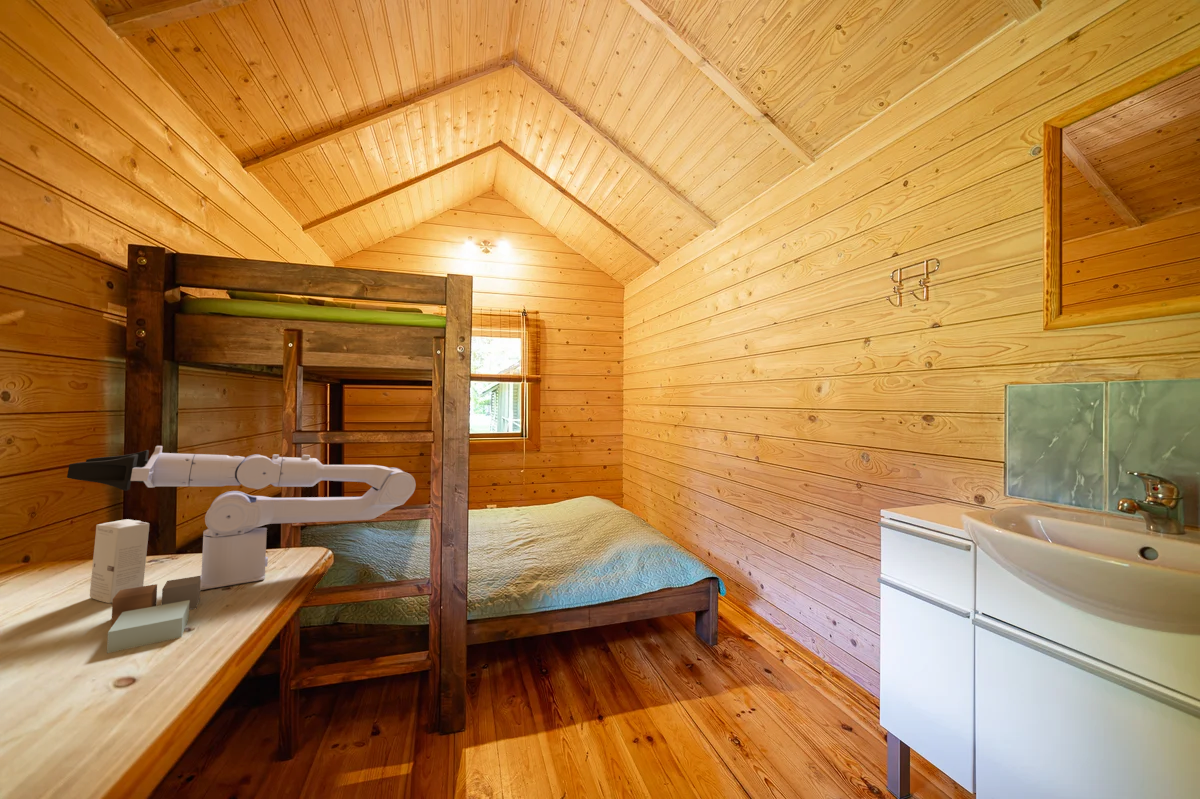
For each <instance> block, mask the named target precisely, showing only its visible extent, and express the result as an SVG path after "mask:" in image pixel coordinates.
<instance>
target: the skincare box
mask: <svg viewBox="0 0 1200 799" xmlns="http://www.w3.org/2000/svg"><path fill="white" fill-rule="evenodd" d="M149 532H150V523H149V522H146V521H145V522H144V521H141V520H137V519H135V520H134V519H131V518H130V519H129V518H128V519H127V518H126V519H121V520H115V521H109V522H103V523H99V524H96V525H95V537H94V547H93V558H92V568H91V577H90V578H91V579H90V589H89V598H90V599H93V600H96V601H100V602H103V603H107V604H112V602H113V598H114V597H115V596H116V594H117V593H118V592H119V591H120V590H123V589H129V588H136V587H142V586H144V581H145V570H146V563H147V562H146V560H147V553H148V552H147V551H148V541H149Z"/></svg>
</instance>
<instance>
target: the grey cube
mask: <svg viewBox="0 0 1200 799" xmlns="http://www.w3.org/2000/svg"><path fill="white" fill-rule="evenodd" d="M200 583H201V575H196V576H189V577H182V578H176V579H171V580H167V581H166V583H165V584H164V586H163V587H162V588H161V589H162V590H161V591H162V593H161V605H164V604H170V603H176V602H181V601H187V600H190V603H189V611H190V610H196V609H197V608H198V606H197V605H199V602H200V599H201V590H200ZM195 608H196V609H195Z"/></svg>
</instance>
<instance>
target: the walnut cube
mask: <svg viewBox="0 0 1200 799" xmlns="http://www.w3.org/2000/svg"><path fill="white" fill-rule="evenodd" d="M157 596H158V583H155V584H150V585H149V584H148V585H143V586H142V587H136V588H129V589H123V590H120V591H119V592H118V593H117V594H116V596H115V597H114V598H113V602H112V603H111V605H112V606H111V607H112V608H111V620H110V621H111V623H110V625H111V626H110V628H111V627H112V626H113V625H114V623H115V622H116V620H117V619H118V618H119V616H120V615H121V613H122V612H125V611H131V610H136V609H142V608H148V607H153V606H157Z"/></svg>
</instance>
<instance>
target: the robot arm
mask: <svg viewBox="0 0 1200 799" xmlns="http://www.w3.org/2000/svg"><path fill="white" fill-rule="evenodd" d="M163 447H164V446H163V445H156V446H155V448H154V451H153V453H152V454H151V456H150V458H149V454H150V453H149V452H150V450H149V449H146V450H143V451H139V452H135V453H129V454H124V455H116V456H114V455H112V456H103V457H93V458H87V459H85V461H82V462H75V463H70V464H69V465H68V469H67V475H66V478H67V479H71V480H77V481H84V482H92V483H98V484H103V485H107V486H111V487H114V488H117V489H119V490H121V491H129V490H131V483H132V482H138V483H140V484H142V483H144V484H145V486H146V487H147V488H155V487H225V486H241V485H242V486H243V487H246V488H249V489H254V490H261V489H264V488H266V487H268V486H269V485H272V486H273V487H276V488H277V487H278V488H280V487H283V488H284V487H288V488H289V487H293V488H294V487H296V488H298V487H299V488H300V487H302V488H303V487H304V488H306V487H307V488H309V487H312V488H313V487H314V486H316V484H318V483H319V482H321V481H327V482H328V481H330V482H331V481H333V482H351V483H352V482H355V483H356V482H357V483H366V484H367V485H369V486H371V487H370V489H368V490H367V491H366V492H365V493H364V494H363V495H362V496H329V497H328V496H325V497H324V496H323V497H322V496H317V497H315V496H314V497H313V496H311V497H309V496H307V497H269V496H265V495H250V494H248V493H245V492H243V491H239V490H231V491H226V492H224V493H221V494H219V495H218V496H216V497H215V498H214V500H213V501H212V503H211V504H210V507H209V508H208V510H206V513H205V516H204V523H205V525H206V527H207V529H205V530H203V534H202V536H203V537H202V554H201V555H202V558H201V559H202V560H201V575H200V576H201V583H200V591H203V590H209V589H215V588H221V587H222V588H223V587H227V586H233V585H239V584H247V583H251V582H259V581H262V580H265V576H266V574H265V573H266V567H268V563H269V561H268V558H269V557H268V556H266V554H267V552H266V551H267V536H268V535H267V532H268V531H267V530H268V528H267V527H262V526H265V525H270V524H271V525H272V524H293V523H295V524H297V523H299V524H300V523H318V522H319V523H320V522H322V523H323V522H346V521H347V522H348V521H349V522H350V521H369V520H370V521H371V520H373V519H376V518H377V517H380V516H382V515H383V514H385V513H387V512H389V511H390V510H392V509H394V508H396V507H399V506H403V505H404V504H405V503H406V502H407V501H408V500H409V499H410V498H411V497H412V496H413V494H414V492H415V490H416V486H417V485H416V479H415V478H414V476H413V475H412V474H411V473H408V472H405V471H404V470H402V469H401V468H399V467H388V466H384V465H379V464H378V465H377V464H323V463H322V462H321V461H320V460H319V459H318V458H316V457H311V455H310V454H302V455H301V457H295V456H294V457H290V456H289V457H287V456H280V454H275V453H274V454H272V457H271V458H270V457H268V456H267V455H261V454H260V453H256V454H251V455H248V456H246V457H245V456H240V455H233V456H232V455H227V454H209V453H207V454H206V453H205V454H204V453H179V452H178V453H177V452H171V453H170V452H163V449H164V448H163Z"/></svg>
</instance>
